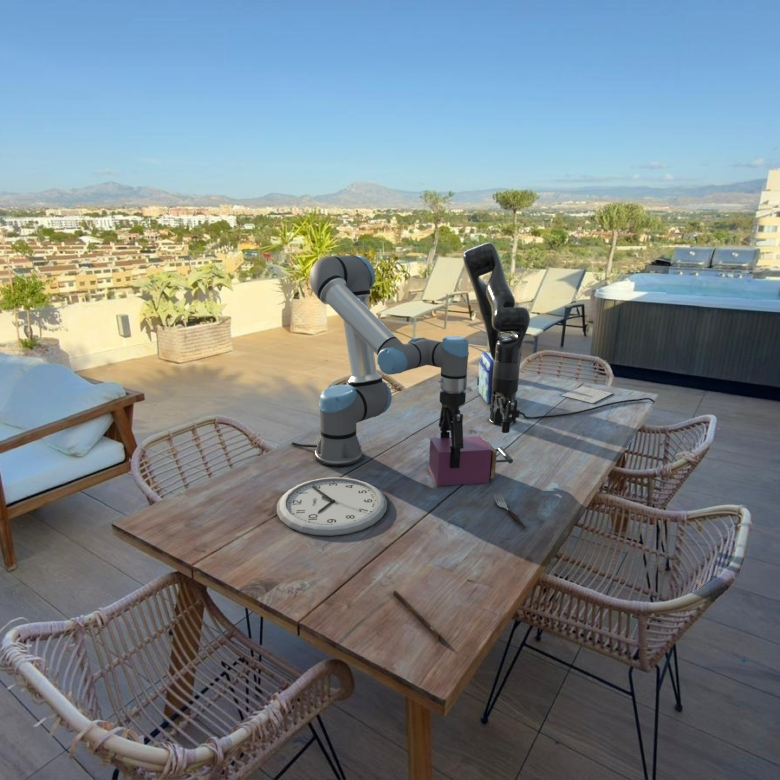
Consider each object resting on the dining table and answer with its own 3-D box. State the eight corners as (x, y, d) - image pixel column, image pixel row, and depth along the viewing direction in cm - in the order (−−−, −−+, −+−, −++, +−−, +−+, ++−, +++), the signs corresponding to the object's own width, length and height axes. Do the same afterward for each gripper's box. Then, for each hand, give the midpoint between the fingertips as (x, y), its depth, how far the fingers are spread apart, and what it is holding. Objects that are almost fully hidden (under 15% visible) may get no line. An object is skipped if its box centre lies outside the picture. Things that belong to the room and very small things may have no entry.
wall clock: (392, 527, 129) (268, 531, 127) (391, 533, 130) (269, 537, 127) (383, 473, 158) (282, 475, 155) (383, 478, 158) (282, 480, 156)
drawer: (500, 464, 167) (503, 438, 165) (512, 477, 159) (514, 450, 156) (439, 467, 164) (440, 441, 161) (447, 481, 155) (448, 454, 153)
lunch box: (475, 390, 246) (478, 346, 240) (498, 390, 246) (501, 347, 240) (484, 408, 221) (487, 360, 215) (509, 409, 221) (513, 360, 215)
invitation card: (582, 386, 254) (612, 393, 244) (582, 386, 255) (612, 393, 244) (561, 395, 240) (592, 402, 230) (561, 395, 240) (592, 403, 230)
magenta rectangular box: (477, 467, 167) (479, 435, 164) (488, 482, 157) (491, 449, 154) (428, 470, 164) (430, 438, 161) (437, 486, 154) (439, 452, 151)
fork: (520, 530, 132) (521, 523, 132) (492, 499, 147) (492, 493, 146) (529, 529, 133) (530, 522, 132) (500, 498, 147) (501, 492, 147)
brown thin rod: (392, 594, 108) (393, 590, 108) (394, 593, 109) (394, 589, 108) (438, 640, 96) (438, 636, 96) (440, 639, 97) (440, 635, 96)
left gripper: (430, 379, 162) (428, 444, 169) (451, 403, 140) (447, 477, 147) (454, 378, 163) (450, 443, 170) (478, 402, 142) (473, 475, 148)
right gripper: (485, 369, 159) (481, 420, 164) (502, 382, 146) (498, 438, 151) (508, 368, 161) (504, 419, 166) (528, 381, 147) (522, 436, 152)
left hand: (449, 459), depth 158 cm, fingers closed on magenta rectangular box, 11 cm apart
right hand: (501, 428), depth 158 cm, fingers open, 6 cm apart
